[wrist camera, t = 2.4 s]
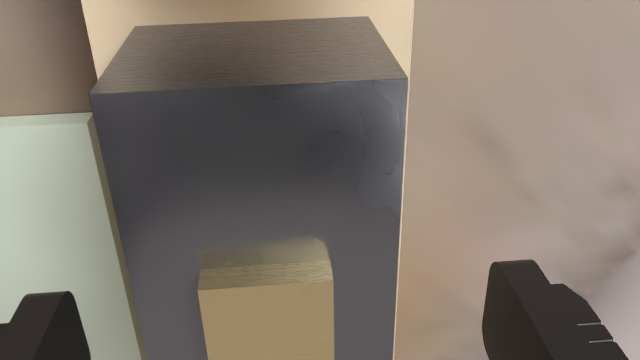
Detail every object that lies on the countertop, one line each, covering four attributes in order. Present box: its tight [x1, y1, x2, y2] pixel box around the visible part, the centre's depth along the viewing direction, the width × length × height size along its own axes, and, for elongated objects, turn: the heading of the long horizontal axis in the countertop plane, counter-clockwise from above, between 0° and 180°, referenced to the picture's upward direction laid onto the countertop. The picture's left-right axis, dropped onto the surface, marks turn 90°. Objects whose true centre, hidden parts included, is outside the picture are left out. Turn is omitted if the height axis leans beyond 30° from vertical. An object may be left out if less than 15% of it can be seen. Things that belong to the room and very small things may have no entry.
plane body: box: [81, 0, 414, 360], centre depth 15 cm, size 7×20×7 cm, turn 1°
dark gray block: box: [88, 16, 408, 360], centre depth 13 cm, size 5×9×5 cm, turn 1°
